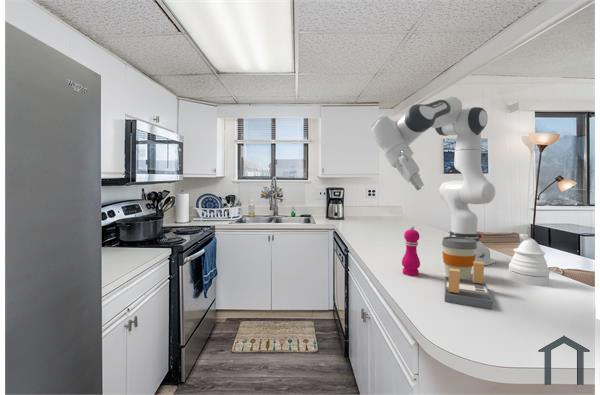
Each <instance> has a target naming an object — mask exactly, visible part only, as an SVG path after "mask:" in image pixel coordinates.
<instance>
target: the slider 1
mask: <svg viewBox="0 0 600 395" xmlns="http://www.w3.org/2000/svg"><path fill="white" fill-rule="evenodd" d="M448 277H449V287H448V291H449V292H454V293H459V280H460V269H453V268H449V276H448Z"/></svg>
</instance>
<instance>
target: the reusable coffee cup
mask: <svg viewBox="0 0 600 395" xmlns="http://www.w3.org/2000/svg"><path fill="white" fill-rule="evenodd" d="M441 245H442V261H443V264H444V269H445V270H444V271H445V276H447V277H449V268H453V269H460V278H462V279H469V280H470V279H471V275H472V272H473V261H475V256H476V255H475V250H476V248H477V245H476V240H474V239H470V238H464V237H450V236H444V237H443V238H442V243H441Z"/></svg>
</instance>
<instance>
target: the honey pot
mask: <svg viewBox="0 0 600 395" xmlns="http://www.w3.org/2000/svg"><path fill="white" fill-rule="evenodd" d="M519 236H520V238H521V239H522V240H523V241H521V243H520V244H519V245H518V247H515V248H513V251H514V254H513V255H512V256H511V260H510V262H509V264H508V275H507V278H508V279H509V280H510V281H512V282H515V283H518V284H519V283H520V284H521V285H528V286H537V287H539V286H540V287H543V286H548V285H549V284H550V269H549V267H548V266H549V265H548V264H547V259H546V258H545V255H546V252H545V251H544V250H542V249H541V246H540V245H539V243H538V242H537V241H536V240H535V239H533V238H532V237H529V234H528V233H520V235H519Z"/></svg>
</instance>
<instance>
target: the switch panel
mask: <svg viewBox="0 0 600 395" xmlns="http://www.w3.org/2000/svg"><path fill="white" fill-rule="evenodd" d="M448 287H449V276H447V275H445V277H444V302H445V303H450V304H451V303H452V304H458V305H464V306H470V307H476V308H481V309H488V310H493V302H494V301H493V298H492V296H491V294H490V291H489V289H488V286H487V283H486V281H484V280H483V284H481V283H473V279H470V278H469V279H462V278H460V280H459V293H454V292H449V291H448Z"/></svg>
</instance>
